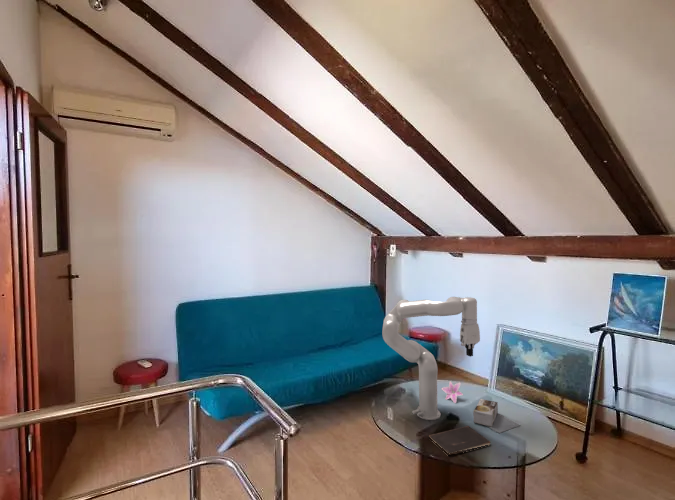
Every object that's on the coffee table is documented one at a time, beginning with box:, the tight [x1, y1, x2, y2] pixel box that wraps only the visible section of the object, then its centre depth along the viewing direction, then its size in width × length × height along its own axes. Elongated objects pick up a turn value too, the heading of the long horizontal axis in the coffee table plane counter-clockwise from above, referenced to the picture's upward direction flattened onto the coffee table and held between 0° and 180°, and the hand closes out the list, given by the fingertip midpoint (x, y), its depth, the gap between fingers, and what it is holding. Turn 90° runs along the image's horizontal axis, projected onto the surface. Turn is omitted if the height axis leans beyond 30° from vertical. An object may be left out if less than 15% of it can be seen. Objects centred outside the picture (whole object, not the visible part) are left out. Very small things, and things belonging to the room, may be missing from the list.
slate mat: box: [484, 412, 522, 434], centre depth 194 cm, size 15×14×1 cm
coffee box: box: [472, 398, 499, 427], centre depth 198 cm, size 9×6×16 cm
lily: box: [441, 381, 464, 404], centre depth 222 cm, size 12×12×10 cm
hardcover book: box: [427, 425, 491, 454], centre depth 178 cm, size 16×23×2 cm
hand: (469, 355), depth 199 cm, fingers closed
